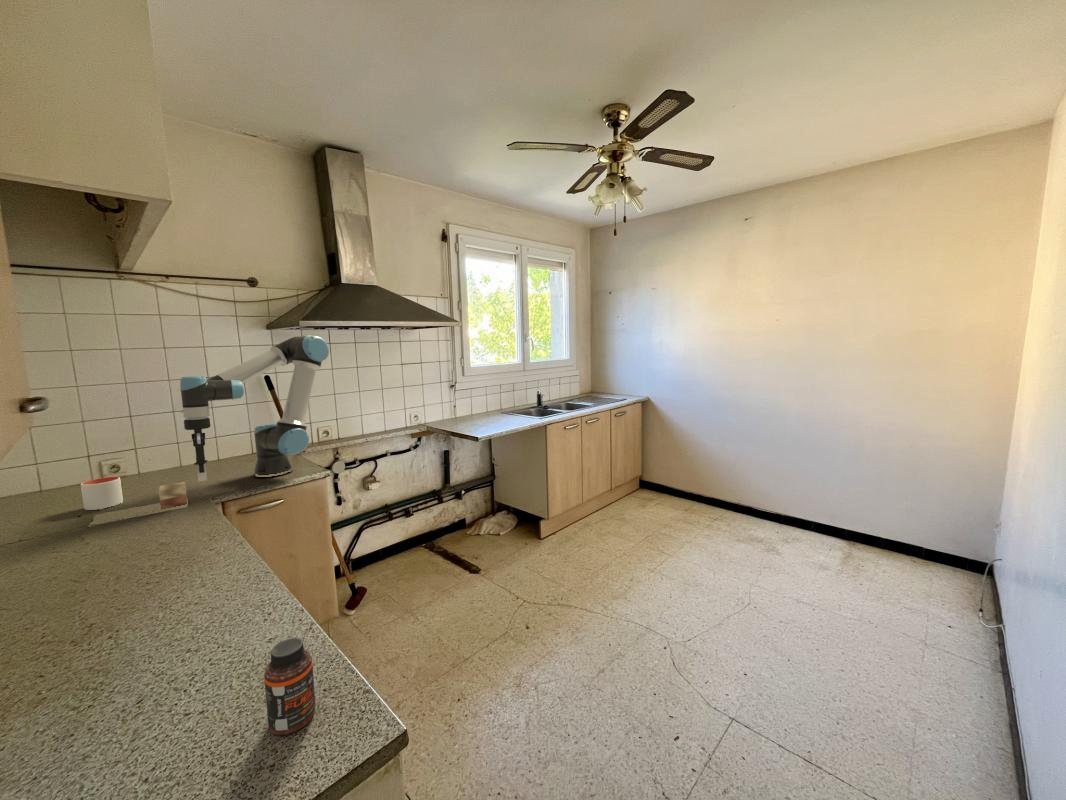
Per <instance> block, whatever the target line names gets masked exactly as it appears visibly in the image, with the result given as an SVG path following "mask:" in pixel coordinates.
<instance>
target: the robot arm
mask: <svg viewBox="0 0 1066 800" xmlns="http://www.w3.org/2000/svg"><path fill="white" fill-rule="evenodd" d="M329 348H330V347H329V344H328V342H327V341H326V340H325V339H324V338H322V337H320V336H317V335H312V334H309V335H303V336H302V335H301V336H293V337H290V338H288V339H285V340H284V341H280V342H279V343H277V344H276V345H274V346H271V347H270V350H268V351H266V352H264V353H261V354H259V355H257V356H256V357H253V358H251V359H249V360H247V361H244V362H241V363H239V364H238V365H235V366H233V367H232V368H231V367H230V368H229V369H227V370H225V371H223V372H220V373H218V374H216V375H214V376H211V377H210V378H207V377H206V376H203V375H200V376H182V377H181V378H180V383H179V384H180V386H179V387H180V389H179V391H180V397H181V405H182V406H181V407H182V410H180V413H183V416H182V417H183V419H184V420H183V427H184V428H183V429H184V430H185V431H193V433H191V440H192V445H193V447H195V460H196V461H195V462H193V465H194V466H196V475H197V482H205V481H206V482H207V481H208V473H207V463H208V462H209V461H208V459H206V457H205V447H204V446H206V433H205V432H203V430H205V429H210V428H211V420H210V419H211V418H209V417H210V416H211V415H210V406H209V402H212V401H227V400H237V399H241V398H243V397H244V394H245V386H244V383H247V382H248V381H250V380H253V379H256V378H257V377H259V376H260V375H264V374H265V373H267V372H269V371H271V370H274V369H275V368H277V367H279V366H282V367H284V366H287V365H289V364H291V363H292V364H293V366H294V368H293V372H292V373H293V374H292V376H291V381H290V385H289V388H288V392H287V397H286V401H285V406H284V410H283V414H282V418H281V419H278V420H277V421H276V423H269V424H268V423H267V424H263V425H257V426H255V427H254V434H253V435H254V441H255V452H256V462H255V465H254V469H253V475H254V474H258V475H269V474H277V473H281V472H285V471H288V470H290V469H293V465H292V463H291V461H290V459H289V457H288V456H290V455H291V456H293V455H295V456H296V455H299V454H301V453H302V452H303V451H304V450H306V448H307V447H308V445H309V442H310V436H309V434H308V432H307V426H308V425H307V424H306V423H305V419H306V415H307V410H308V405H309V402H310V397H311V393H312V389H313V385H314V381H315V376H316V371H317V370H320V369H321V366H322V362H323V361H325V360H327V358H328V357H329V354H330V349H329Z"/></svg>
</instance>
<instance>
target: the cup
mask: <svg viewBox="0 0 1066 800" xmlns="http://www.w3.org/2000/svg"><path fill="white" fill-rule="evenodd" d="M80 489H81V497H82V503H83V508H84V510H86V511H87V510H97V509H103V508H107V507H111V506H115V505H118V504H120V503H121V504H123V503H124V497H123V489H122V481H121V477H120V476H107V477H99V478H94V479H89V480H86V481H83V482H81V483H80ZM121 504H120V505H121ZM118 506H119V505H118ZM115 507H116V506H115ZM103 510H104V509H103Z"/></svg>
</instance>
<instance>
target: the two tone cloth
mask: <svg viewBox="0 0 1066 800" xmlns="http://www.w3.org/2000/svg"><path fill="white" fill-rule="evenodd" d="M158 495H159V502H160V505H161V509H166V508H171V507H176V506H181V505H185V504H187V497H188V495H187V488H186V481H182V482H177V483H169V484H165V485H160V486H159V489H158Z"/></svg>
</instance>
